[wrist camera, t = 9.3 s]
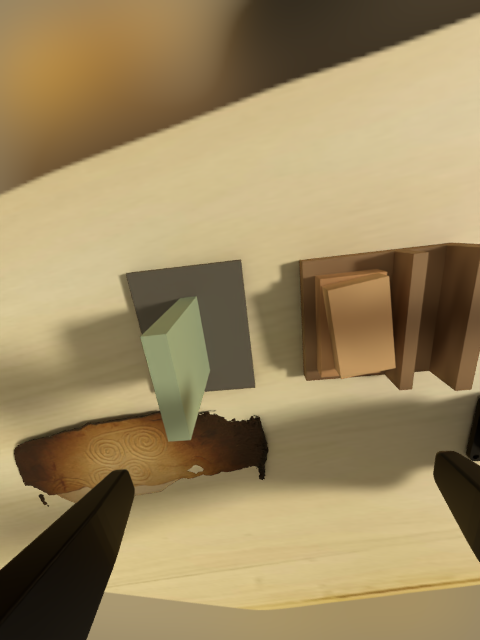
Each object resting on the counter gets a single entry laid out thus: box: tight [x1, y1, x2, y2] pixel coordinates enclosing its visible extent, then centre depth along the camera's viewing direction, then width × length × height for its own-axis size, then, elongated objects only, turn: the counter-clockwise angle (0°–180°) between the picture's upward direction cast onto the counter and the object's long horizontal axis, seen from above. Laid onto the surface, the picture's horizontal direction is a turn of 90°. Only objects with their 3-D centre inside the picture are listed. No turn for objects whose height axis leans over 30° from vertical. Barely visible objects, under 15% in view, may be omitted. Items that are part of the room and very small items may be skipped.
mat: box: [126, 260, 255, 392], centre depth 19 cm, size 10×8×1 cm
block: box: [140, 296, 210, 442], centre depth 15 cm, size 6×1×7 cm, turn 7°
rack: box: [299, 243, 480, 391], centre depth 17 cm, size 9×10×4 cm
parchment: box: [14, 412, 268, 507], centre depth 24 cm, size 25×10×1 cm, turn 102°
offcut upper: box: [322, 273, 396, 379], centre depth 16 cm, size 6×3×1 cm, turn 15°
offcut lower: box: [315, 269, 387, 378], centre depth 17 cm, size 7×4×1 cm, turn 7°
